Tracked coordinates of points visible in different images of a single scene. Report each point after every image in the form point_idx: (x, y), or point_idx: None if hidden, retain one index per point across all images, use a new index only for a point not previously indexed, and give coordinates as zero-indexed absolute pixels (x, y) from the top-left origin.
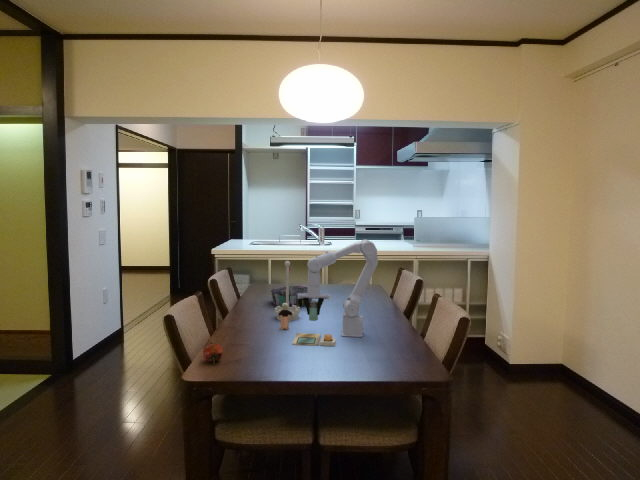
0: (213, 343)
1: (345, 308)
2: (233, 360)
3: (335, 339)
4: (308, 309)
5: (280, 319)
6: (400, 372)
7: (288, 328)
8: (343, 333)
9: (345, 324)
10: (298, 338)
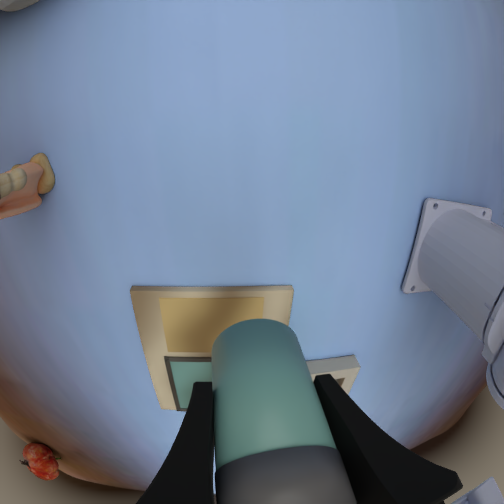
0: (37, 476)
1: (500, 406)
2: (72, 452)
3: (355, 373)
4: (212, 466)
5: (3, 10)
6: (412, 440)
7: (50, 183)
8: (418, 269)
9: (454, 311)
10: (170, 373)
